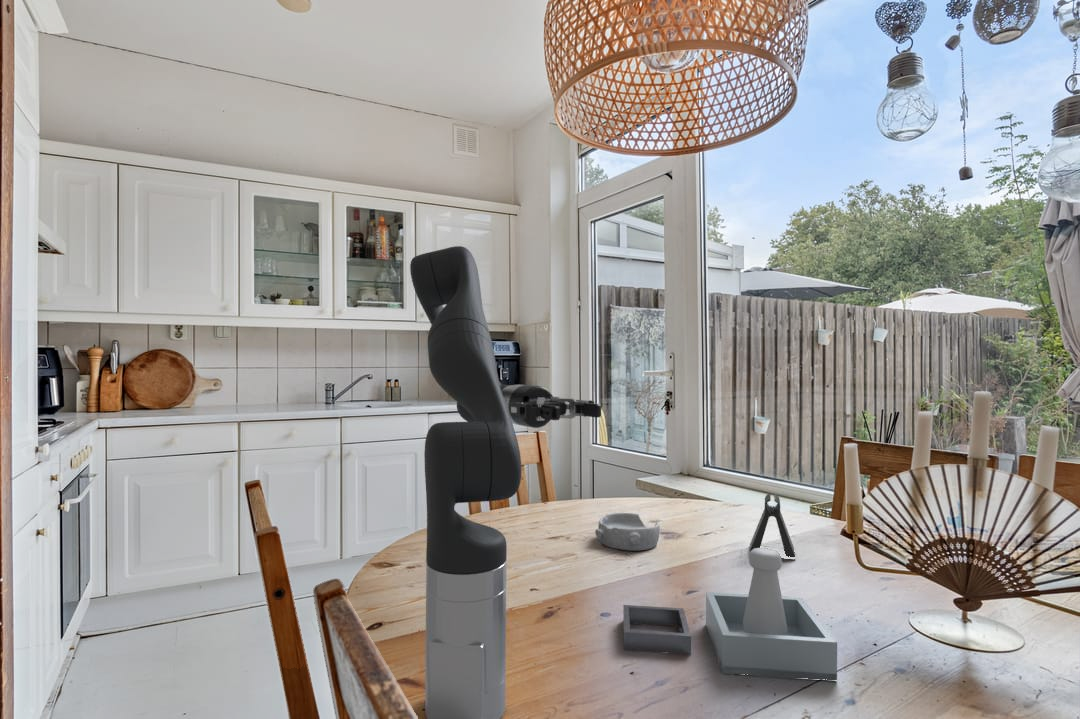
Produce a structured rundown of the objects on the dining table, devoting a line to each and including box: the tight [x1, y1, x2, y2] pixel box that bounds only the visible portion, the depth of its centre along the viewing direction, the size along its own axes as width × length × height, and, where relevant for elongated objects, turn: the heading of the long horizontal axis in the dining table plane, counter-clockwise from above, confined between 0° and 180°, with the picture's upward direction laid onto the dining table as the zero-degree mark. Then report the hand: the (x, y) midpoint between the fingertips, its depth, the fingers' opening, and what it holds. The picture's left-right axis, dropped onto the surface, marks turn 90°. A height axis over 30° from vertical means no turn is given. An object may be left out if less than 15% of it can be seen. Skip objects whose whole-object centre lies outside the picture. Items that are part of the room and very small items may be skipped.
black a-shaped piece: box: [748, 492, 796, 557], centre depth 123 cm, size 9×6×12 cm, turn 68°
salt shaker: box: [743, 548, 787, 636], centre depth 82 cm, size 6×6×13 cm
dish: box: [595, 512, 661, 552], centre depth 129 cm, size 14×14×5 cm
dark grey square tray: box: [622, 604, 692, 655], centre depth 85 cm, size 9×9×2 cm
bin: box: [705, 591, 838, 681], centre depth 81 cm, size 14×14×5 cm
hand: (579, 412), depth 94 cm, fingers open, 8 cm apart
